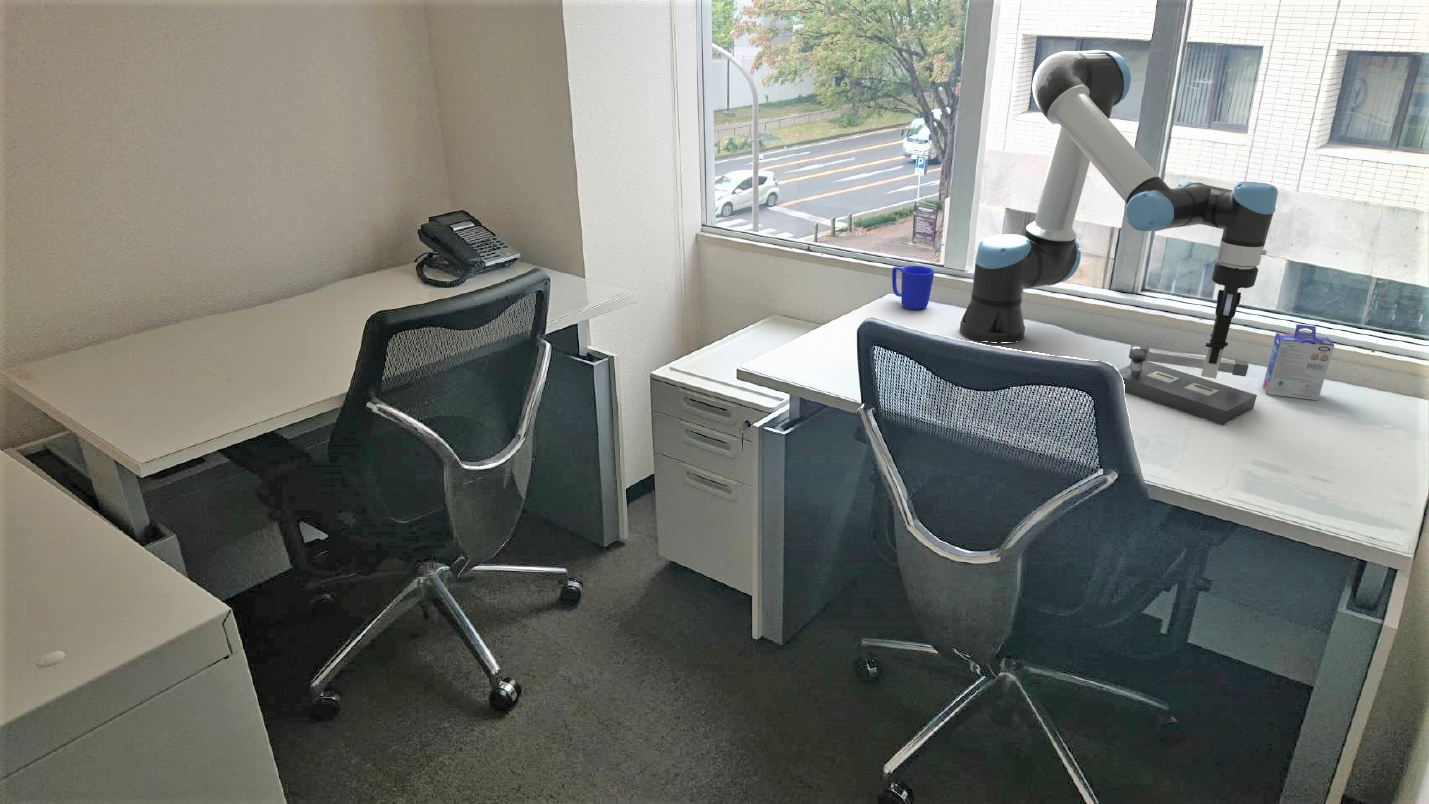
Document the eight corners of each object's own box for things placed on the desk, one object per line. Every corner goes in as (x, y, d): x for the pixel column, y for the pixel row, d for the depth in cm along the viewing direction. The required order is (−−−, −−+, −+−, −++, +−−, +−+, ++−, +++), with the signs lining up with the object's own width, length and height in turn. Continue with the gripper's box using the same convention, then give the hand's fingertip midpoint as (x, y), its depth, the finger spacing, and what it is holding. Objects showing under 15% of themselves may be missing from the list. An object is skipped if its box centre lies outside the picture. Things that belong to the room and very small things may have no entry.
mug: (900, 296, 250) (904, 260, 246) (936, 307, 242) (940, 270, 238) (880, 302, 245) (883, 266, 241) (916, 313, 237) (920, 276, 233)
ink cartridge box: (1312, 391, 194) (1332, 326, 188) (1319, 401, 189) (1340, 335, 183) (1260, 385, 196) (1278, 320, 190) (1265, 395, 192) (1284, 329, 186)
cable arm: (1128, 360, 194) (1130, 348, 193) (1128, 354, 197) (1131, 343, 196) (1245, 377, 186) (1249, 365, 185) (1244, 371, 189) (1247, 359, 188)
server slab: (1107, 386, 195) (1112, 364, 193) (1139, 372, 202) (1144, 351, 200) (1222, 425, 178) (1229, 401, 175) (1253, 408, 185) (1259, 385, 183)
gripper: (1259, 274, 172) (1228, 390, 182) (1259, 259, 183) (1229, 369, 192) (1214, 268, 176) (1186, 383, 185) (1217, 254, 186) (1190, 363, 196)
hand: (1208, 376), depth 189 cm, fingers closed
